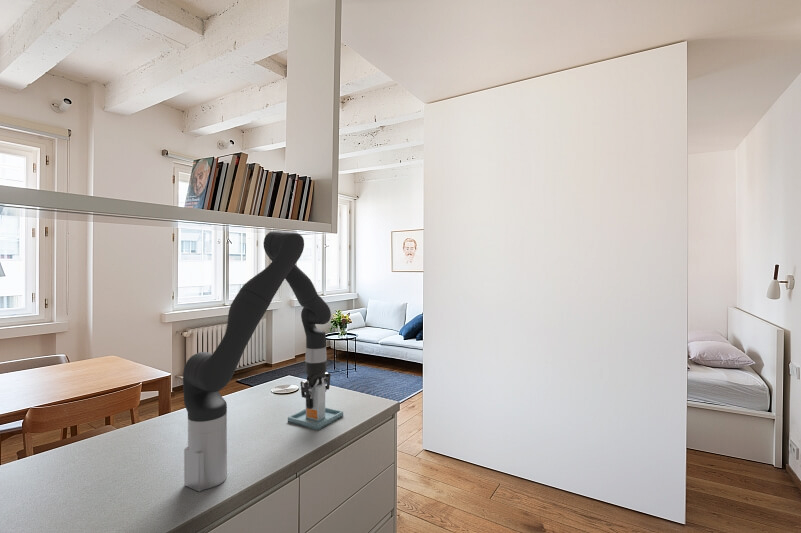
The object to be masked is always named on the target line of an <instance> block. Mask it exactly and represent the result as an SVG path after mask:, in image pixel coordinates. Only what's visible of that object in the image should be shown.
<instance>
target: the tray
mask: <svg viewBox="0 0 801 533" xmlns="http://www.w3.org/2000/svg"><path fill="white" fill-rule="evenodd" d="M343 417H344V411H343V410H339V409H334V408H331V407H330V408H329V407H326V406H325V418H323V419H321V420H319V421H316V420H313V419H309V418H306V408H304V409H302V410H300V411H298V412H296V413H294V414H292V415H289V416H288V417H287V423H289V424H293V425H298V426H301V427H305V428H308V429H312V430H317V431H320V430H321V429H323V428H325V427H327V426H329V425H330V424H333V423H334V422H336V421H337V420H340V419H341V418H343Z"/></svg>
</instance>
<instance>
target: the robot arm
mask: <svg viewBox="0 0 801 533" xmlns="http://www.w3.org/2000/svg"><path fill="white" fill-rule="evenodd" d="M263 239H264V240H263V250H264V252H265V253H266V255H267V257H268V259H270V261H271V262H270V263H269V264H268V265H267V266H266V268H264V269H262V270H261V271H260V272H259V273H257V274H256V275H254V276H253V277H252V278H250V279H249V280H247V282H245V283H244V284H243V285H242V286H241V288H240V289H239V290H238V292H237V294H236V295H235V297H234V299H233V300H232V302H231V304H230V306H229V310H228V313H227V314H228V315H227V324H226V329H225V333H224V334H223V338H222V339H221V340H220V342H219V344H218V346H217V347H216V349H215V350H214V351H213V352H205V351H201V352H197V353H194V354H193V355H192V356H190V357H189V358H188V360H187V361H186V363H185V365H184V367H183V372H182V373H183V374H182V386H183V387H182V388H183V389H182V390H183V401H184V402H183V403H184V406H185V407H184V408H185V410H186V412H187V447H185V448H184V450H183V456H184V458H183V459H184V460H183V461H184V462H183V464H184V467H183V471H184V472H183V474H184V476H183V477H184V479H183V483H184V486H186V487H188V488H189V489H192V490H195V491H197V492H202V491H204V490H207V489H213V488H215V487H216V486H219V485H221V484H222V483H224V482H225V481H226V480H227V477H228V426H227V425H228V424H227V423H228V418H227V417H228V405H227V402H226V400H225V398H224V397H222V396H223V395H221V393H220V391H221V390H222V389H224V388H225V387H227V385H228V384H229V383H230V381H231V380H232V378H233V375H234V374H235V371H236V369H237V368H238V365H239V363H240V361H241V358H242V356H243V354H244V351H245V349H246V348H247V345H248V343H249V342H250V340H251V338H252V336H253V335H254V332H255V331H256V329H257V327H258V325H259V323H260V322H261V321H262V319H263V318H264V315H265V314H266V312H267V310H268V308H269V307H270V304H271V303H272V300H273V299H274V297H275V295H276V294H277V292H278V291H279V289H280V287H281V286H282V284H283V282H284V280H285V281H286V282H287V284H288V285H289V287H290V289H291V290H292V292H293V294H294V295H295V298H296V299H297V302H298V304H299V305H300V306H301V307H303V308H302V309H301V312H300V317H301V322H302V326H303V329H304V333H305V341H306V342H305V354H304V356H305V363H304V364H305V366H304V367H305V371H304V372H305V373H306V379H305V380H304V381H303V380H301V381H300V391H301V392H300V393H301V398H304V399H305V408H306V407H307V408H308V409H312V408H313V398H312V397H313V394H314V392H315V387H317V386H318V385H320V384H323V385H325V393H327V391H328V390H330V386H331V385H330V384H331V373H329V372H327V369H328V368H327V362H328V361H327V357H328V356H327V335H326V332H325V331H324V330H321V329H319V328H317V326H316V325H326V324H328V323H329V321H330V320H331V317H332V312H331V309H330V306H329V304H327V302H326V301H325V300H324V299H323V298H322V297H321V296H320V295H319V293H318V292H317V290H316V287H315V285H314V283H313V282H312V280H311V279H310V277H309V276H307V274H306V273H305V272H304V271H303V270H302V269H300V268H299V267H298V265H297V262H298V261H299V260H300V258H301V256H302V255H303V251H304V248H305V240H304V237H303V236H302V235H301V234H300V233H298V232H294V231H286V230H271V231H269V232H268V233H267V234H265V237H264V238H263ZM309 386H310V387H311V388H313V389H309ZM310 391H311V393H310V395H309V392H310Z"/></svg>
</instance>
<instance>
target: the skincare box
mask: <svg viewBox="0 0 801 533" xmlns="http://www.w3.org/2000/svg"><path fill="white" fill-rule="evenodd" d="M309 389H313V388H311V387H310V386H309ZM310 393H311V391H310V392H309V395H310ZM312 398H313V408H312V409H308V408H307V407H306V406H305V409H306V418H309V419H313V420H316V421H319V420H321V419H323V418H325V407H326V392H325V385H323V384H320V385H318V386H317V387H315V392H314V394H313V397H312Z"/></svg>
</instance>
